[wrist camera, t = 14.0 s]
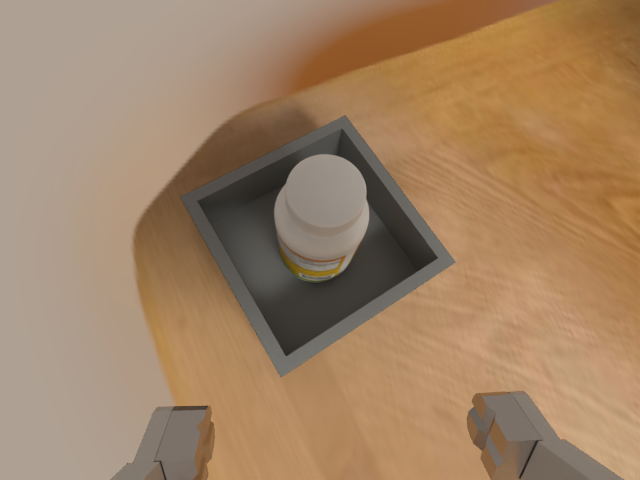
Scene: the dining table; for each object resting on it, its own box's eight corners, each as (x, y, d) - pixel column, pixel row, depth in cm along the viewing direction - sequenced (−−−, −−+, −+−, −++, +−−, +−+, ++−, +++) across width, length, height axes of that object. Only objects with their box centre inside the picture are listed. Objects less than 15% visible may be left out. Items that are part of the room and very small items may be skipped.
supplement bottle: (320, 201, 28) (332, 122, 18) (366, 253, 26) (404, 196, 17) (264, 243, 26) (247, 180, 17) (311, 299, 25) (319, 264, 16)
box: (338, 150, 30) (345, 115, 26) (430, 277, 27) (455, 262, 23) (198, 222, 27) (180, 196, 23) (283, 374, 24) (280, 377, 20)
